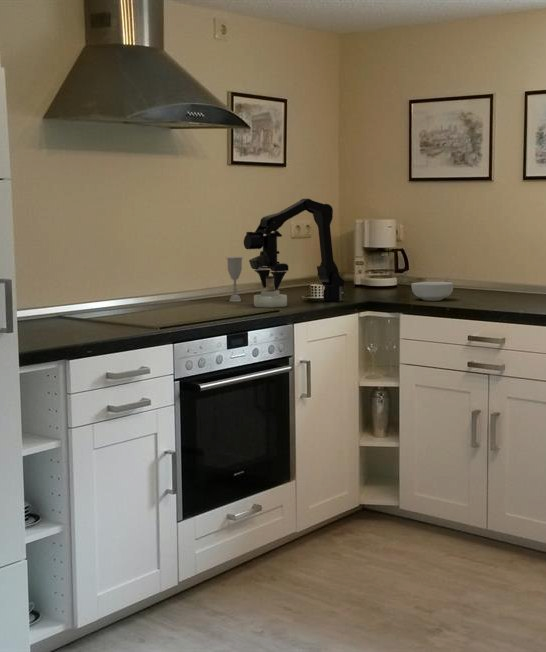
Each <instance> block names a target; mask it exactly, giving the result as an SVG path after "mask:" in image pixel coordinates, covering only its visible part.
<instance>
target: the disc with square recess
mask: <svg viewBox="0 0 546 652" xmlns="http://www.w3.org/2000/svg"><path fill="white" fill-rule="evenodd" d="M287 306H288V295H287V294H282V293H280V290H279V289H274V292H270V291H266V289H265V290H261V291H260V294H255V295H253V307H256V308H284V307H287Z"/></svg>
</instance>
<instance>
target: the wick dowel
mask: <svg viewBox="0 0 546 652" xmlns="http://www.w3.org/2000/svg"><path fill="white" fill-rule="evenodd" d="M265 290H266V291H270V292H274V290H275V286H274V277H273V275H271V276H270V275H269V276H266V288H265Z"/></svg>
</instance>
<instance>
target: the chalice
mask: <svg viewBox="0 0 546 652" xmlns="http://www.w3.org/2000/svg"><path fill="white" fill-rule="evenodd" d="M243 258H244V257H243V256H242V257H241V256H227V257H226V260H227V272H228V275H229V276H230V278H231V280H233V288H232V290H233V294H232V295H230V297H229V302H241V301H242V300H241V297H240V295H239V294H238V293H237V291H238V289H237V285H238V284H237V280H238V279H239V278H240V276H241V273H242V268H243V266H242V265H243Z"/></svg>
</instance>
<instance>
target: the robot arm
mask: <svg viewBox="0 0 546 652" xmlns="http://www.w3.org/2000/svg"><path fill="white" fill-rule="evenodd" d="M305 211H306V212H307V213H309V214H312V217H313V220H314V222H315V224H316V226H317V229H318V239H319V248H320V249H319V251H320V258H321V262H320V265H317V266H316V269H317V275H316V276H317V277H318V279H319V280H320V281H321V285H322V286H323V287H324V289H323V302H332V303H334V302H342V301H343V298H342V287H344V286H345V282H346V281H345V279H343V278H342V276H340V273H339V268H338V266H337V264H336V262H335V261H334V252H333V243H332V242H333V241H332V234H331V233H332V232H331V223H332V221H333V217H334V216H333V215H334V208H333V206H332V205H331V204H329V203H321V202H318V201H316V200H312V198H311V199H310V198H301V199H300V200H299V201H297V202H295V203H293V204H292V205H290V206H288V207H286V208H284V209H282V210H281V211H279V212H276V213H273V214H269V215H268V214H267V215H265V216H263V217H262V218H260V222H259V224H258V226H257V227H256V230H255V231H246V235H245V236H244V239H243V246H244V248H245V249H246V250H260V252H259V255H258V256H256V257H252V258H251V259H248V262H249V265H250V268H251V269H252V270H254V272H256V273H257V274H258V276H259V278H260V281H261V286H262V288H264V289H266V276H270V274H271V276H273V277H274V290H279V287H280V285H281V283H282V281H283V278H284V276H285V275H286V273H287V272H288V271H289V265H288V264H287V263H285V262H280V261H278V254H280V251H279V250H278V238H281V237H283V234H282V233H280V231H279V229H280V228H281V227H282V226H284V224H285V222H287V221H289V220H290V219H292V218H294V217H296V216H298V215H299V214H301V213H303V212H305ZM261 249H262V250H261Z"/></svg>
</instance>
